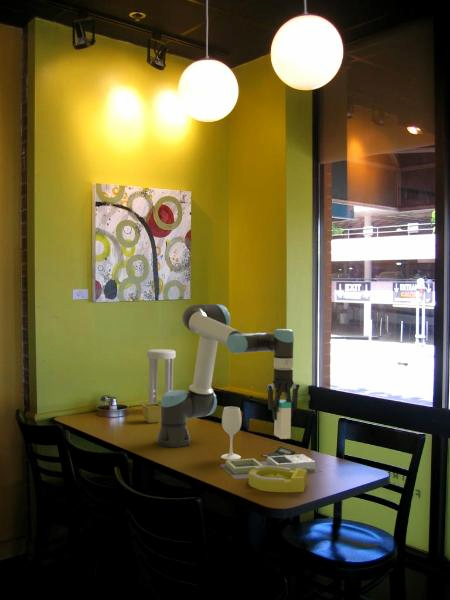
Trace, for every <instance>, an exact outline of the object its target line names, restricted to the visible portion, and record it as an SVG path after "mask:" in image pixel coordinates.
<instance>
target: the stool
mask: <svg viewBox="0 0 450 600" xmlns="http://www.w3.org/2000/svg"><path fill="white" fill-rule="evenodd" d="M176 353H177V352H176V350H174V349H169V348H167V349H165V348H159V349H158V348H157V349H155V348H154V349H153V348H152V349H149V350H147V352H146V358H148V395H147V396H148V397H147V398H148V401H147V402H148V403H147V404H154V403H158V382H159V381H158V378H159V377H158V375H159V373H158V372H159V371H158V370H159V369H158V368H159V365H158V364H159V360H164V392H163V394H165V393H166V392H169V391H174V359H175V358H176V357H177V356H176Z"/></svg>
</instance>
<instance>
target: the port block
mask: <svg viewBox="0 0 450 600" xmlns="http://www.w3.org/2000/svg"><path fill="white" fill-rule="evenodd" d="M266 461H267V465H270V466H280V467H286V468H290V469H291V470H294V471H295V469H296V468H300V469H303V470H306V471H315V467H316V461H315V460H313V459H312V458H310V457H309V456H307V455H305V454H304V453H303V454H302V453H301V454H294V455H285V456H271V457H267V458H266Z"/></svg>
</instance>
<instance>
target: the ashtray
mask: <svg viewBox="0 0 450 600" xmlns="http://www.w3.org/2000/svg"><path fill="white" fill-rule="evenodd" d="M307 476H308V473H307V471H306V470H303V469H300V468H296V469H295V471H294V470H291V469H290V468H286V467H280V466H270V465H267V466H258V467H255V469H252V470H251V471H250V472H249V478H248V485H249V486H250V487H252V488H254V489H255V490H257V491H262V492H271V493H302V492H304V491H305V489H306V486H307V484H308V483H307V480H308V477H307Z"/></svg>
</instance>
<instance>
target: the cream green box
mask: <svg viewBox="0 0 450 600" xmlns="http://www.w3.org/2000/svg"><path fill="white" fill-rule="evenodd" d="M278 412H279V429H277V428H275V420H274V419H273V421H274V422H273V423H274V425H273V427H274V431H273V436H275V437H277V438H279V439H280V440H283V439H284V440H287V439H288V440H290V439H291V435H292V434H291V431H292V430H291V429H292V428H291V425H292V421H291V420H292V419H291V402H288V401H286V399H280V401H279V406H278Z"/></svg>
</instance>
